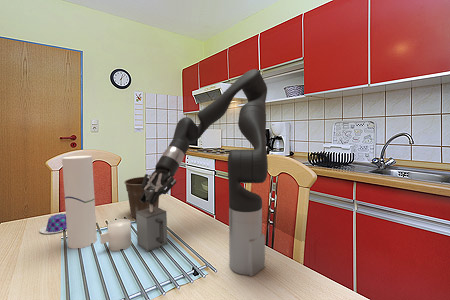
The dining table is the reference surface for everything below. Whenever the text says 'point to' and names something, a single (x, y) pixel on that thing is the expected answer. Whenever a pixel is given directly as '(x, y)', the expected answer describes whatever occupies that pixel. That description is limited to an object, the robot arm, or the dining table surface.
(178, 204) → the dining table surface
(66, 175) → the container
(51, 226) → the purple hat
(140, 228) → the box with side grip
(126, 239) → the mug
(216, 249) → the dining table surface
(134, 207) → the plant pot
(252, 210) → the robot arm
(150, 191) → the plunger
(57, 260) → the dining table surface
